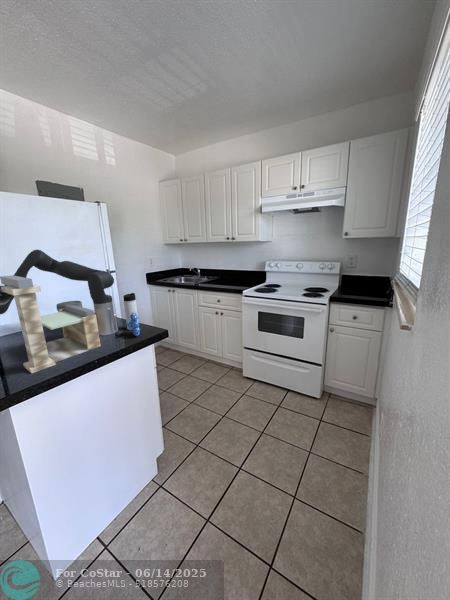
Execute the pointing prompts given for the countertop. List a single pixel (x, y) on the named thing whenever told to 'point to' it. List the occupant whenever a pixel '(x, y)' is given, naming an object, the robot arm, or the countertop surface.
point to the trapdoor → (66, 317)
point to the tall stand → (31, 327)
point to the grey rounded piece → (61, 305)
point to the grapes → (134, 324)
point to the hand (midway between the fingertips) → (6, 284)
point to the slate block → (16, 281)
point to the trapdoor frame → (75, 339)
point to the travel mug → (130, 306)
